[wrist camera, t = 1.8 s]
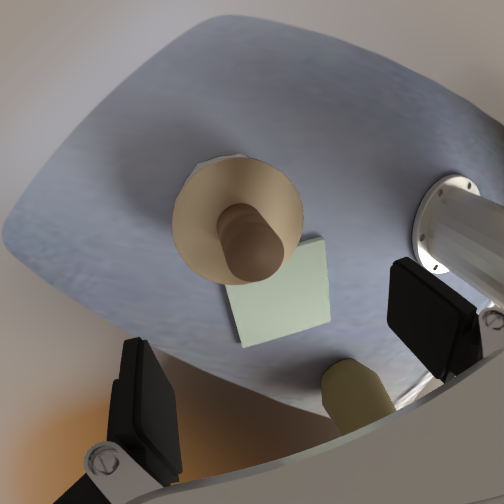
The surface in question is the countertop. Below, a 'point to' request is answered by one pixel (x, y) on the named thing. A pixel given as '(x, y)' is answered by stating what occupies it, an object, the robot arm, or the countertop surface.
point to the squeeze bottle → (354, 396)
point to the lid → (237, 221)
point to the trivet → (284, 297)
